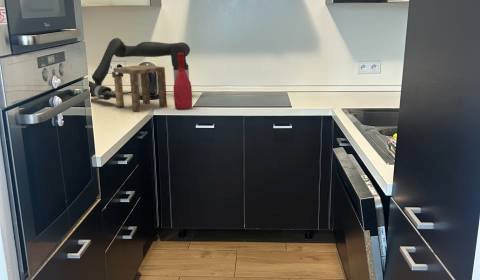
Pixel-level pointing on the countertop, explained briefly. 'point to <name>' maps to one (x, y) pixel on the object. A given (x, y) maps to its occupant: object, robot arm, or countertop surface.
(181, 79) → the red bottle
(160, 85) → the walnut stool
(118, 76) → the oak leg
